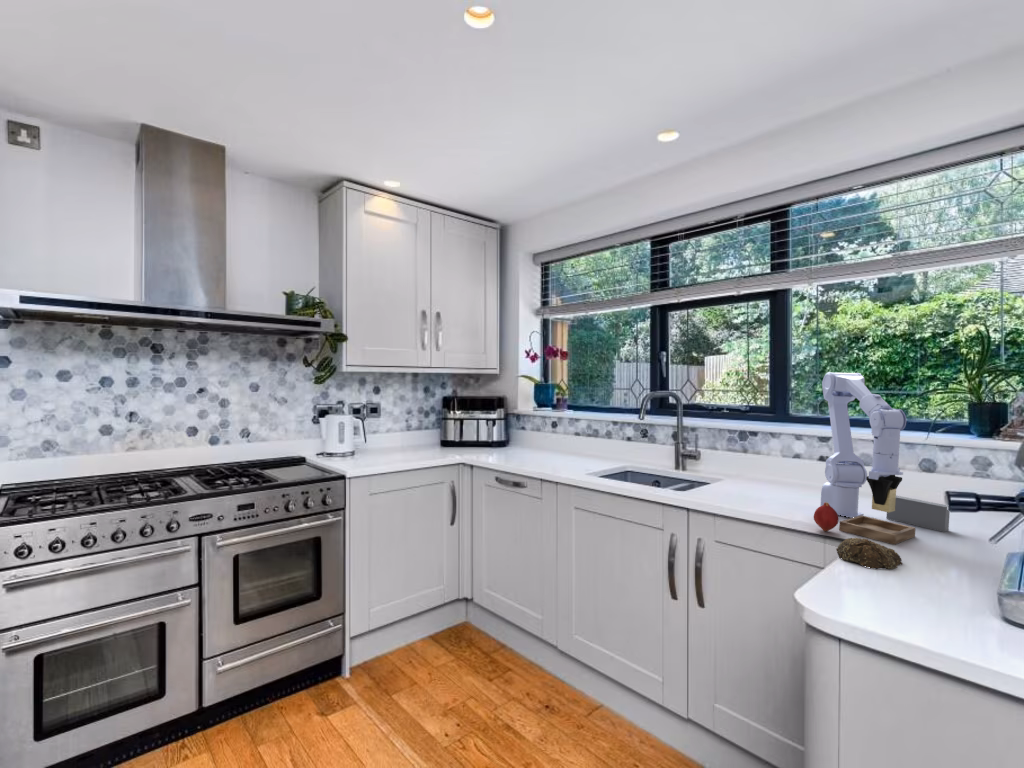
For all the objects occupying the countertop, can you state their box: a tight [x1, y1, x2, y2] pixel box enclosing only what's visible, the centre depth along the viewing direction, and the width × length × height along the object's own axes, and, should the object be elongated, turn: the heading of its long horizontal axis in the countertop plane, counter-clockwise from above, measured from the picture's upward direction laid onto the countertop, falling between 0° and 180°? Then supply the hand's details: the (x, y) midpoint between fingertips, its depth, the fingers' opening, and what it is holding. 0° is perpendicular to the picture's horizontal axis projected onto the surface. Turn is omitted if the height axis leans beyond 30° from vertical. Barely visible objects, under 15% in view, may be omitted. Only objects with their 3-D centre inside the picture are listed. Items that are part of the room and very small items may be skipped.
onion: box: [813, 502, 840, 532], centre depth 140 cm, size 6×6×8 cm
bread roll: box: [835, 537, 903, 570], centre depth 119 cm, size 13×12×5 cm
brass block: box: [871, 487, 897, 513], centre depth 139 cm, size 4×4×6 cm
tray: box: [838, 515, 916, 545], centre depth 139 cm, size 13×13×2 cm
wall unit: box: [886, 495, 951, 533], centre depth 149 cm, size 14×3×7 cm, turn 33°
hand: (882, 503), depth 139 cm, fingers closed on brass block, 4 cm apart
